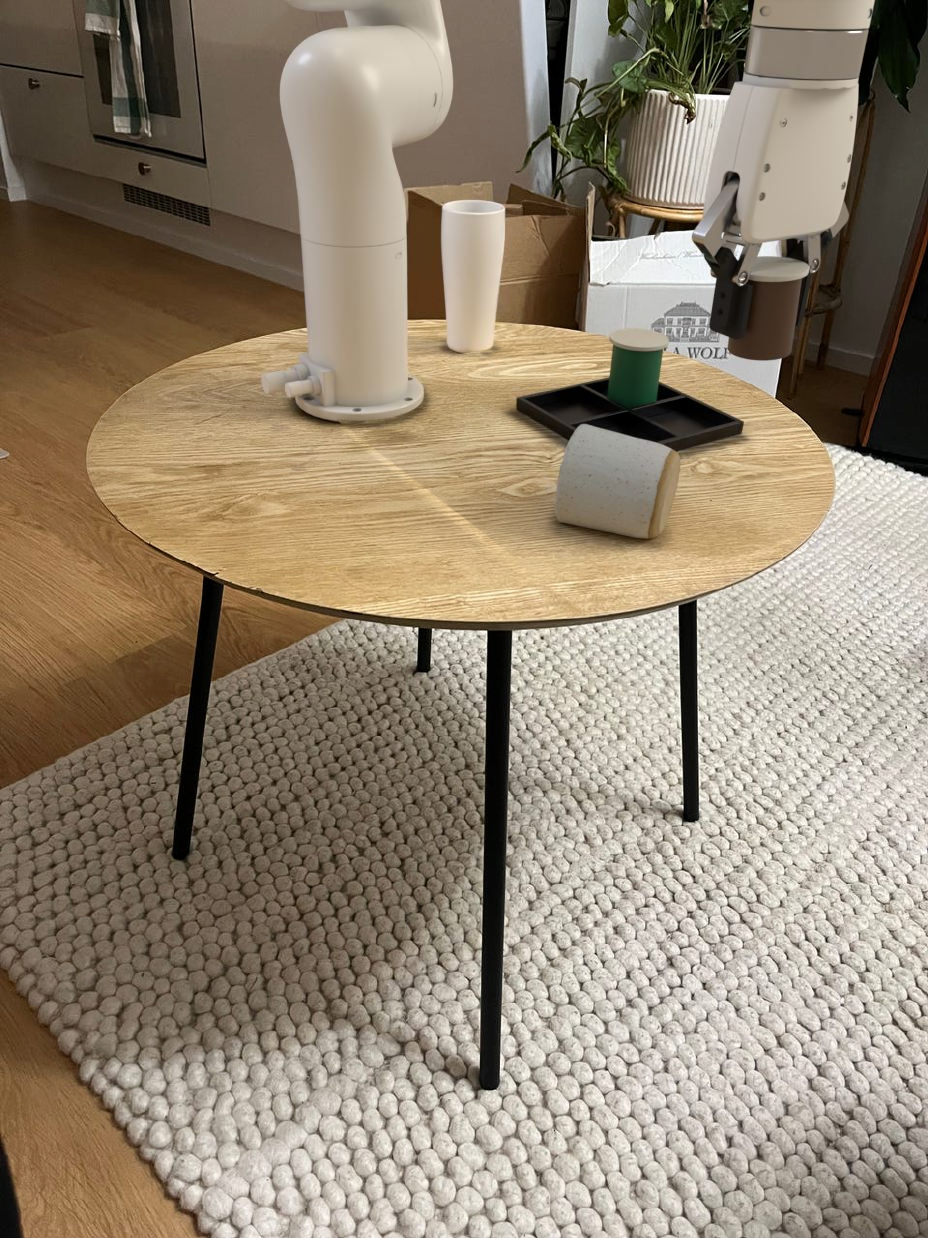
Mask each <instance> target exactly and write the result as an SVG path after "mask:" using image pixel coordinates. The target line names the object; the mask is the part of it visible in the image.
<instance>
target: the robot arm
mask: <svg viewBox="0 0 928 1238" xmlns="http://www.w3.org/2000/svg"><path fill="white" fill-rule="evenodd" d="M282 2H284V3H285V4H287V5H289V6H290V7H292V8H294V9H298V10H300V11H307V12H308V11H309V12H320V13H323V12H327V13H328V12H344V17H345V21H346V24H347V27H335V28H334V27H333V28H329V29H326V30H322V31H319V32H317V33H314V34H312V35H310V36H308V37H307V38H305V39H304V40H303V41H301V42H300V43H299V44H298V45H297V46H296V47H295V48H294V49H293V50H292V52H291V53H290V54H289V57H288V58H287V60H286V61H285V64H284V66H283V70H282V72H281V77H280V81H279V104H280V105H279V106H280V112H281V117H282V122H283V127H284V131H285V135H286V140H287V143H288V148H289V151H290V155H291V160H292V165H293V166H292V167H293V171H294V178H295V186H296V194H297V206H298V218H299V233H300V245H301V258H302V261H301V262H302V275H303V289H304V290H303V291H304V292H303V293H304V306H305V320H306V336H307V337H306V338H307V352H304V353H299V354H298V363H297V364H293V365H292V366H291V368H290V369H288V370H275V371H270V372H264V373H262V374H261V376H260V383H261V387H262V390H263V392H264V393H265V395H269V394H270V395H271V394H275V393H280V392H285V395H286V397H287V398H288V399H291V398H295V403H296V405H297V406H298V408H300V409H301V410H302V411H303V412H305V413H306V414H308V415H310V416H313V417H316V418H319V419H322V420H327V421H331V422H338V423H339V422H340V421H351V422H352V421H354V422H355V421H356V422H364V421H378V420H384V419H385V420H386V419H390V418H394V417H399V416H402V415H404V414H408V413H409V412H412V411H413V410H415V409H416V408H418V407H419V406H420V405H421V404H422V403H423V401H424V398H425V389H424V386H423V384H422V382H420V381H419V380H418V379H417V378H416V377H414V376H412V375H411V374H409V363H408V362H409V354H408V353H409V347H408V345H409V344H408V343H409V342H408V340H409V339H408V337H409V335H408V333H409V331H408V329H409V328H408V324H409V323H408V239H407V238H408V234H407V208H406V207H407V206H406V198H405V192H404V188H403V183H402V179H401V175H400V173H399V171H398V167H397V164H396V160H395V156H394V152H393V149H395V148H398V147H402V146H405V145H410V144H413V143H417V142H419V141H422V140H424V139H426V138H428V137H430V136H431V135H432V134H434V133H435V132H436V131H437V130H438V129H439V128H440V127H441V126H442V124H443V123H444V121H445V120H446V118H447V116H448V113H449V111H450V108H451V104H452V101H453V94H454V74H453V73H454V72H453V71H454V70H453V64H452V56H451V52H450V46H449V41H448V35H447V29H446V25H445V20H444V14H443V10H442V3H441V0H282ZM753 2H754V3H753V9H752V15H751V21H750V29H749V34H748V42H747V49H746V55H745V62H744V69H743V76H742V81H735V82H734V83H733V86H732V89H731V91H730V94H729V97H728V100H727V103H726V106H725V109H724V112H723V115H722V119H721V123H720V126H719V130H718V133H717V137H716V142H715V146H714V150H713V154H712V159H711V164H710V168H709V173H708V180H707V184H706V190H705V196H704V203H703V209H702V218H701V220H700V221H699V222H698V224H697V225H696V227H695V228H694V229H693V232H692V233H691V241H692V243H693V244H694V246H695V247H696V248H697V249H698V251H699V252H700V254H702V255H703V258H704V260H705V262H706V263H707V265H708V266H709V268H710V271H709V272H710V276H711V277H712V278H714V279H715V285H714V292H713V296H712V297H713V298H712V304H711V311H710V312H711V313H710V318H709V324H708V326H709V330H710V331H712V332H715V333H717V334H719V335H723V336H725V337H727V338H729V337H730V338H732V339H735V340H737V339H742V338H743V337H744V336H745V333H746V327H747V322H748V316H749V310H750V304H751V299H752V293H753V285H750V284H747V281H748V279H749V277H750V274H751V271H752V269H753V266H754V264H755V261H756V259H757V257H759V253H760V251H761V249H762V246H763V243H769V242H770V243H771V242H777V241H780V246H781V247H780V248H781V257H785V258H792V259H796V260H800V261H802V262H804V263H806V264H808V265H809V273H808V275H807V276H805V277H803V278H802V282H801V289H800V296H799V303H798V310H797V317H796V323H795V328H797V327H800V326H802V324H803V323H804V322H803V321H804V317H805V316H804V315H805V312H806V307H807V302H808V296H809V292H810V288H811V283H812V277H813V274H814V273H816V272H817V271H818V270H819V268H820V266H821V263H822V261H821V260H822V259H821V258H822V256H823V255H824V253H825V252H826V251H827V250H828V248H829V247H830V246H831V244H832V242H833V238H835V237H836V235H837V234H838V233H839V232H840V231H841V230H842V228H843V227H844V226H845V225H846V224H847V222H848V221H849V218H850V214H849V210H848V207H847V205H846V202H845V196H846V191H847V186H848V181H849V176H850V171H851V164H852V159H853V158H852V157H853V154H854V153H853V152H854V144H855V137H856V130H857V129H856V128H857V119H858V105H859V86H860V85H859V79H860V78H859V77H860V73H861V69H862V64H863V58H864V54H865V49H866V44H867V41H868V36H869V35H868V34H869V28H870V26H871V21H872V16H873V11H874V6H875V3H876V0H754V1H753ZM738 246H740V247H742V249H741V252H740V255H739V258H737V257H736V256H735V251H736V249H737V247H738Z"/></svg>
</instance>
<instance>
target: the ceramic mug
mask: <svg viewBox="0 0 928 1238" xmlns="http://www.w3.org/2000/svg"><path fill="white" fill-rule="evenodd" d="M681 460H682V459H681V457H680V454H679V453H678V452H676V451H675V450H673V449H671V448H669V447H666V446H664V445H662V444H659V443H656V442H652V441H648V440H643V439H639V438H635V437H631V436H628V435H624V434H620V433H617V432H613V431H609V430H606V429H602V428H598V427H594V426H591V425H587V424H581V425H579V427H577V429H576V430H575V432H574V433H573V435H572V437H571V438H570V440H569V441H568V443H567V445H566V448H565V450H564V454H563V457H562V461H561V465H560V468H559V472H558V477H557V482H556V489H555V496H554V514H555V515H554V516H555V518H556V520H557V521H558V522H559V523H563V524H566V525H572V526H576V527H581V528H586V529H590V530H595V531H601V532H607V533H612V534H616V535H620V536H625V537H629V538H634V539H646V540H647V539H648V540H652V539H655V538H657V537H659V536H660V535H661V534H662V533H663V531H664V530H665V528H666V524H667V522H668V519H669V517H670V513H671V510H672V507H673V505H674V500H675V496H676V492H677V488H678V484H679V479H680V472H681V467H682V466H681V464H682V463H681V462H682V461H681Z"/></svg>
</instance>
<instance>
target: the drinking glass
mask: <svg viewBox="0 0 928 1238" xmlns="http://www.w3.org/2000/svg"><path fill="white" fill-rule="evenodd" d="M440 223H441V224H440V250H441V266H442V279H443V280H442V281H443V294H444V307H445V308H444V310H445V325H446V333H445V335H446V336H445V337H446V344H447V347H448V348H449V349H450V350H451V351H454V352H456V353H459V354H467V353H472V352H474V353H475V352H483V351H487V350H490V349H492V348H493V347H494V344H495V331H496V330H495V328H496V320H497V311H498V303H499V295H500V286H501V278H502V271H503V262H504V255H505V254H504V253H505V245H506V244H505V243H506V207H505V206H504V205H503V204H501V203H498V202H495V201H489V200H481V199H461V200H460V199H459V200H453V201H448V202H446V203H444V204H443V205H442V206H441V221H440Z"/></svg>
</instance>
